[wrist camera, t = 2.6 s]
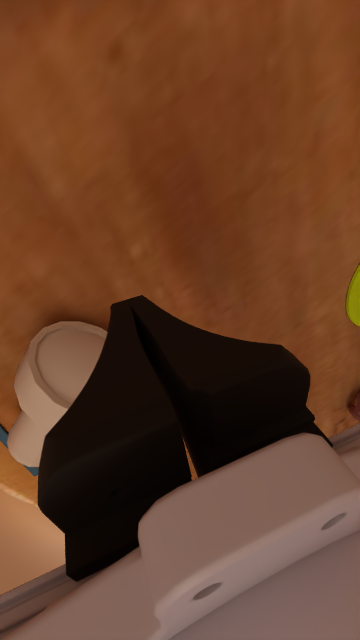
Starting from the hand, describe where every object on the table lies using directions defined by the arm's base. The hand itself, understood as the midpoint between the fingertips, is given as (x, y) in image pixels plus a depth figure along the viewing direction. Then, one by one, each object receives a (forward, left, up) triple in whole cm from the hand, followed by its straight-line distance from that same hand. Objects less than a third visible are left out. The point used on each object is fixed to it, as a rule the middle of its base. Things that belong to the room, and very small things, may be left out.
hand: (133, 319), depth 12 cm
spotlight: (-10, +6, -11) cm, 16 cm away
